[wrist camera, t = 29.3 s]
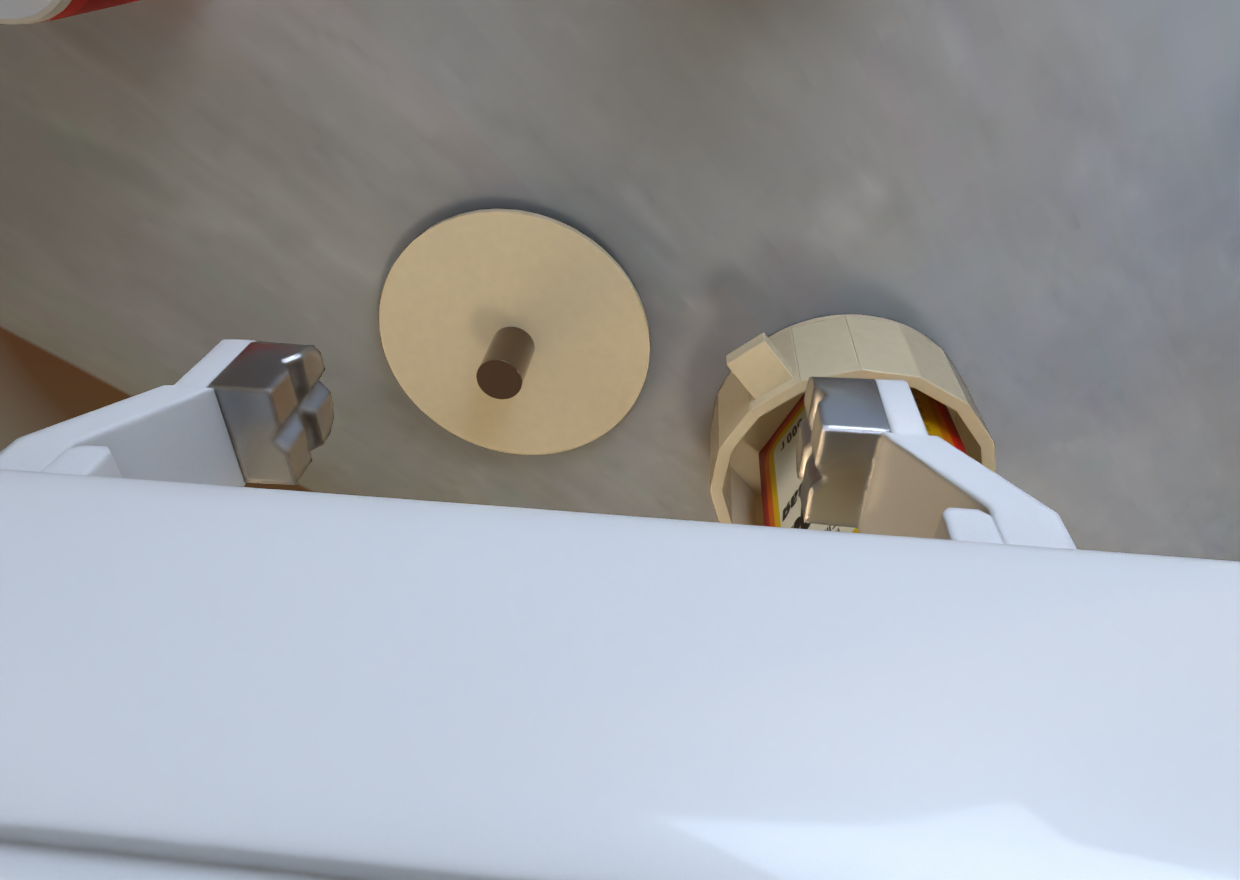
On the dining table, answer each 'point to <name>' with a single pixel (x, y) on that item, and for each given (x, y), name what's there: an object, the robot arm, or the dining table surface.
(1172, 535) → the dining table surface
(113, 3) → the canned food
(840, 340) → the pan
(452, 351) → the pan lid
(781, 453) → the baking soda box
